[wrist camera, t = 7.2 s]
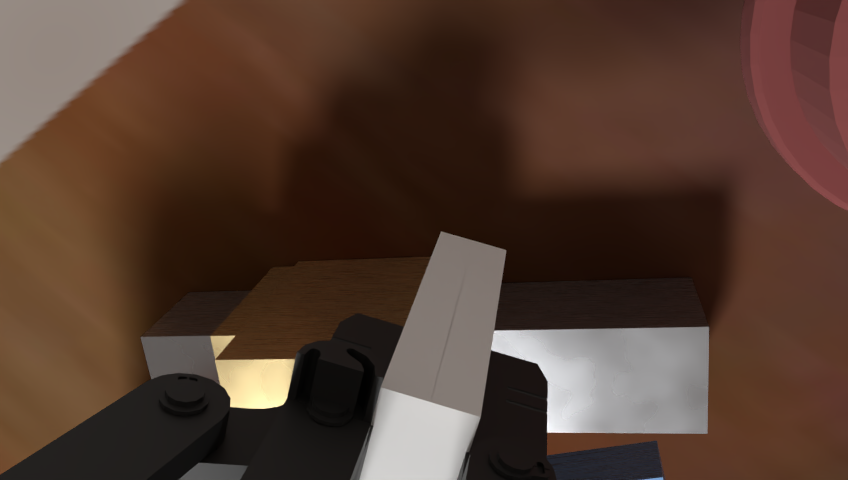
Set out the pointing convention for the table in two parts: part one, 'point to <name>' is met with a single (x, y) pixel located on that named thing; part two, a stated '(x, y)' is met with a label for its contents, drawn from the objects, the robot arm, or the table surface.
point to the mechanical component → (801, 85)
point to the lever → (610, 463)
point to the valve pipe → (513, 335)
